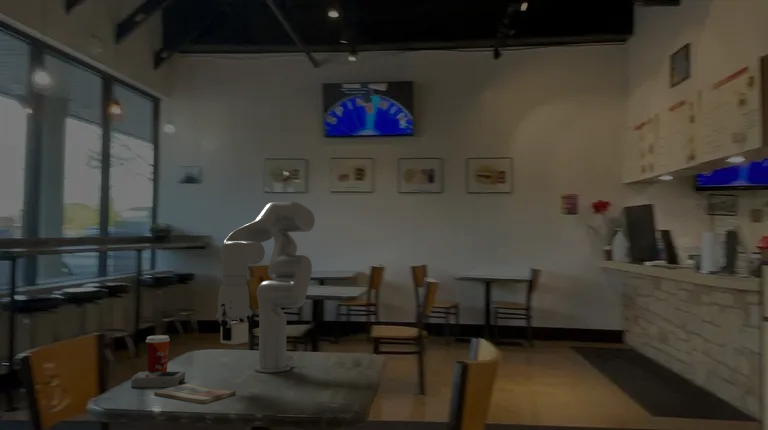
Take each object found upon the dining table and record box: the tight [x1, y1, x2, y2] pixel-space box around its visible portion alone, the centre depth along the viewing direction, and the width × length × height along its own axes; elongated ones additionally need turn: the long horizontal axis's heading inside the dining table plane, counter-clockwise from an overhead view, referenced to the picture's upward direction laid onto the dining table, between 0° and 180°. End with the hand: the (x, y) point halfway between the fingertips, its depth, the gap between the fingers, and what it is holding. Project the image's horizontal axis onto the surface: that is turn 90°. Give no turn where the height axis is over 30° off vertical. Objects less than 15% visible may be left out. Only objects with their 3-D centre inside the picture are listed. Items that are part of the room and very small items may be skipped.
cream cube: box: [219, 320, 249, 345], centre depth 200 cm, size 6×6×6 cm
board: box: [153, 383, 237, 405], centre depth 189 cm, size 13×20×1 cm, turn 60°
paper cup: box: [145, 334, 171, 372], centre depth 211 cm, size 8×8×14 cm
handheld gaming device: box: [130, 371, 186, 388], centre depth 203 cm, size 9×15×4 cm, turn 92°
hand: (234, 338), depth 200 cm, fingers closed on cream cube, 6 cm apart
